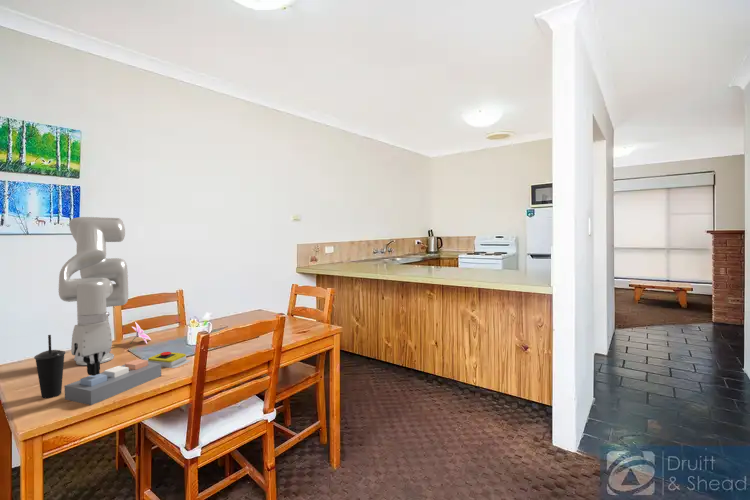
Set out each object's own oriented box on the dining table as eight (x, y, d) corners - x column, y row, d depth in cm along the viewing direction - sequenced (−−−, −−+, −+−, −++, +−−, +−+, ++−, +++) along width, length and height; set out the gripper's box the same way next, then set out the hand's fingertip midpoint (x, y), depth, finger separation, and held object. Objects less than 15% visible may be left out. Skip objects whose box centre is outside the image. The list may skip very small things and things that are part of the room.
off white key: (104, 379, 126) (103, 370, 125) (118, 374, 130) (118, 365, 130) (114, 381, 124) (114, 372, 124) (128, 375, 129) (128, 367, 129)
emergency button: (161, 348, 157) (191, 351, 154) (161, 358, 158) (191, 361, 154) (143, 355, 148) (174, 358, 145) (143, 366, 149) (174, 369, 145)
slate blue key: (80, 388, 118) (80, 378, 118) (96, 382, 123) (96, 373, 123) (91, 390, 117) (91, 380, 117) (107, 384, 122) (107, 375, 121)
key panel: (64, 399, 117) (64, 385, 117) (137, 371, 141) (137, 360, 141) (91, 405, 113) (90, 390, 113) (161, 375, 137) (161, 363, 137)
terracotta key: (125, 371, 133) (125, 363, 132) (138, 366, 137) (137, 359, 137) (135, 373, 131) (135, 365, 131) (148, 368, 136) (147, 360, 136)
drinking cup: (48, 390, 124) (46, 332, 123) (72, 389, 124) (70, 331, 124) (29, 400, 116) (26, 338, 115) (54, 400, 117) (52, 338, 116)
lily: (135, 350, 170) (146, 331, 172) (114, 339, 171) (126, 320, 174) (151, 350, 181) (161, 332, 184) (131, 340, 183) (142, 322, 185)
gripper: (107, 313, 127) (108, 365, 128) (58, 323, 113) (60, 381, 114) (123, 314, 125) (124, 367, 126) (75, 325, 111) (76, 384, 111)
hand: (93, 374), depth 120 cm, fingers closed
